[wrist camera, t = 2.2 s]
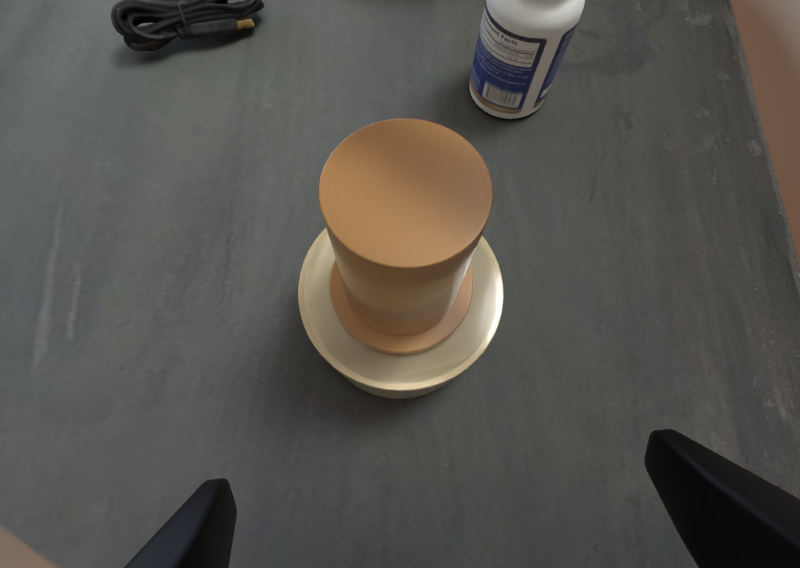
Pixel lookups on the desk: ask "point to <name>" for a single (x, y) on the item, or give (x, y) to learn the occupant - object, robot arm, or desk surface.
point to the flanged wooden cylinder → (403, 232)
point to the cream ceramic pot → (389, 370)
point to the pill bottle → (520, 53)
